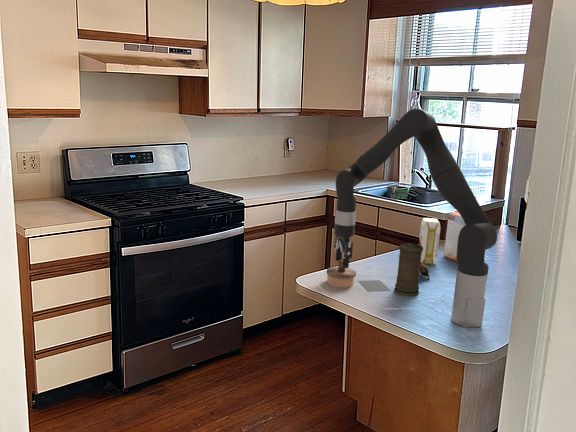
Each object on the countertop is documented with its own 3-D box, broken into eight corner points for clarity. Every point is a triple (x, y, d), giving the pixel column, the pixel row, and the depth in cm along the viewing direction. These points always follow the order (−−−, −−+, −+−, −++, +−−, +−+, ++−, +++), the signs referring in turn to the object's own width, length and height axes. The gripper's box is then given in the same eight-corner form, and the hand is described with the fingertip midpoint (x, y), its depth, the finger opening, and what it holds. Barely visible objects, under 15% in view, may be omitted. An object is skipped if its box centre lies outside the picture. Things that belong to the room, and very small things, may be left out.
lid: (360, 278, 198) (361, 265, 196) (331, 279, 195) (332, 266, 194) (350, 268, 208) (351, 256, 207) (323, 269, 206) (324, 256, 204)
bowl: (356, 288, 199) (357, 277, 198) (331, 288, 197) (332, 278, 196) (348, 278, 208) (349, 269, 207) (324, 279, 206) (324, 269, 205)
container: (400, 298, 192) (406, 250, 187) (389, 288, 200) (394, 242, 196) (423, 296, 194) (428, 249, 190) (411, 287, 202) (416, 242, 198)
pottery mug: (433, 284, 209) (426, 268, 205) (410, 291, 211) (403, 275, 208) (427, 267, 219) (421, 251, 216) (405, 274, 222) (399, 259, 218)
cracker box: (474, 264, 234) (480, 218, 229) (463, 265, 232) (469, 219, 227) (453, 255, 246) (459, 211, 242) (443, 256, 244) (448, 211, 239)
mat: (390, 291, 197) (390, 290, 197) (367, 292, 195) (367, 291, 195) (379, 281, 208) (379, 280, 207) (357, 281, 206) (357, 280, 206)
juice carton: (433, 259, 238) (438, 218, 234) (436, 265, 230) (442, 222, 226) (416, 258, 239) (421, 217, 235) (419, 264, 231) (423, 221, 226)
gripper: (361, 227, 191) (357, 270, 195) (348, 217, 205) (345, 258, 208) (341, 227, 189) (337, 270, 193) (329, 217, 203) (326, 258, 207)
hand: (341, 264), depth 201 cm, fingers open, 8 cm apart
